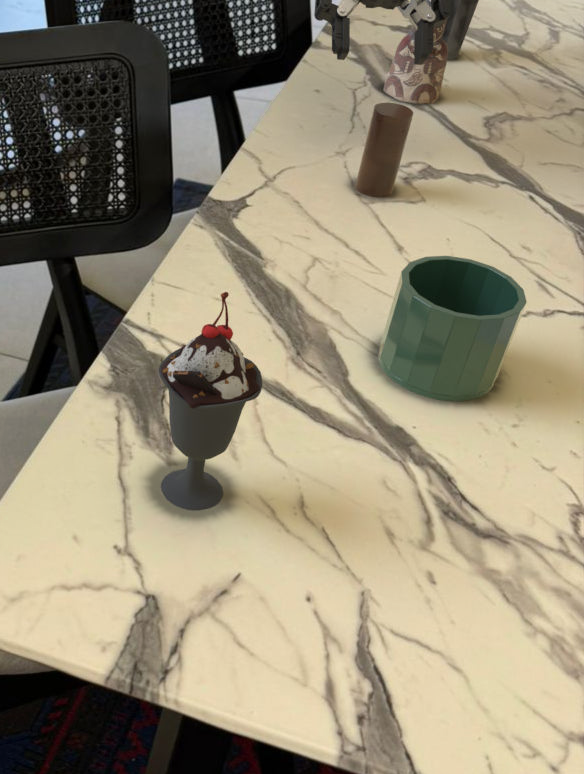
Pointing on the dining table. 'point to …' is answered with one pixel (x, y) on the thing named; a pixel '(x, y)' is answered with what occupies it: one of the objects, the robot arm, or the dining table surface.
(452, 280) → the crock
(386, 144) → the pestle
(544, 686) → the dining table surface
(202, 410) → the sundae
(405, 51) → the figurine
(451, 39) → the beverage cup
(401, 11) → the robot arm
